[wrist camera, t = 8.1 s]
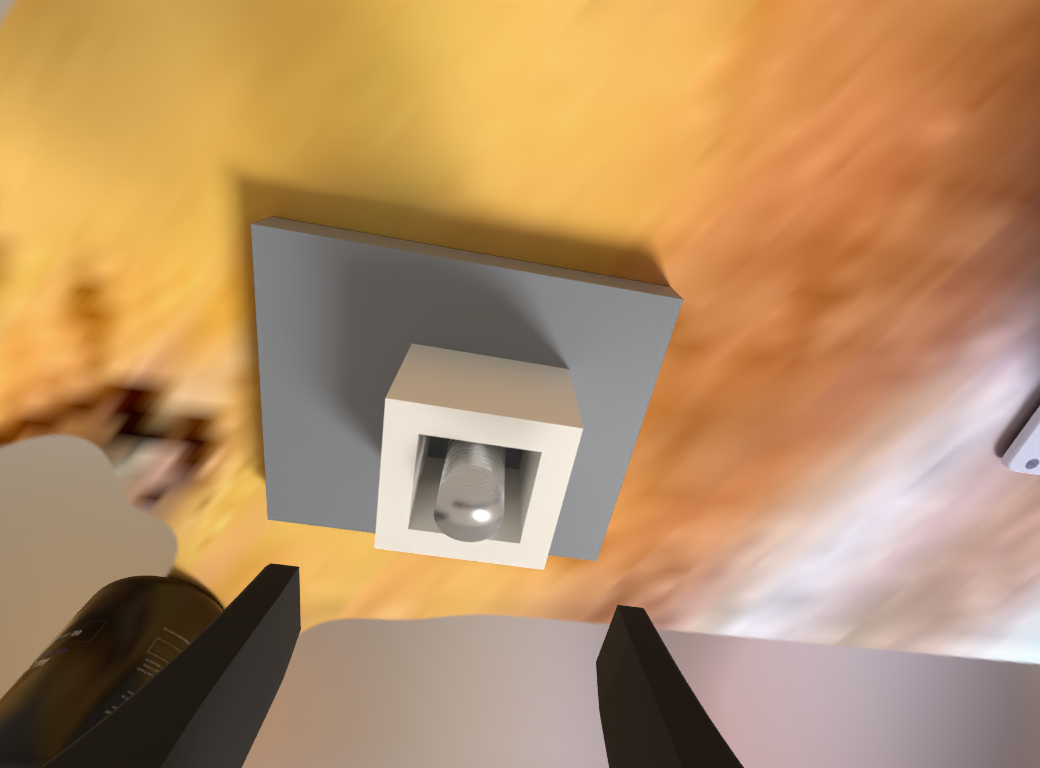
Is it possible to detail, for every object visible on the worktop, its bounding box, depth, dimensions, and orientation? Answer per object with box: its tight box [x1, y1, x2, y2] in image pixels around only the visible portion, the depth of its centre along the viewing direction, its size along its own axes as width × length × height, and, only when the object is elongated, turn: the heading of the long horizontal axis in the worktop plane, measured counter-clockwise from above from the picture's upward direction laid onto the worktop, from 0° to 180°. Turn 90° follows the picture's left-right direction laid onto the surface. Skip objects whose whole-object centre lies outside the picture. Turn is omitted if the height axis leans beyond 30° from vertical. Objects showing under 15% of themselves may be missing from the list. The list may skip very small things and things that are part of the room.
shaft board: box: [251, 217, 683, 561], centre depth 17 cm, size 14×12×6 cm
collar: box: [374, 344, 583, 570], centre depth 17 cm, size 6×6×4 cm
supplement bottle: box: [0, 576, 223, 768], centre depth 20 cm, size 7×7×12 cm
